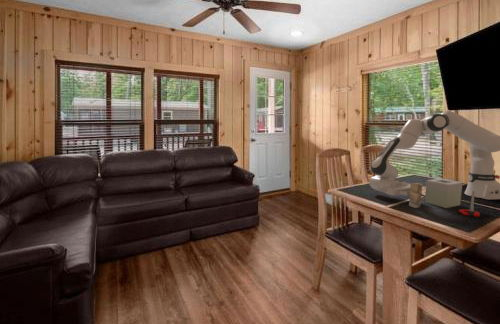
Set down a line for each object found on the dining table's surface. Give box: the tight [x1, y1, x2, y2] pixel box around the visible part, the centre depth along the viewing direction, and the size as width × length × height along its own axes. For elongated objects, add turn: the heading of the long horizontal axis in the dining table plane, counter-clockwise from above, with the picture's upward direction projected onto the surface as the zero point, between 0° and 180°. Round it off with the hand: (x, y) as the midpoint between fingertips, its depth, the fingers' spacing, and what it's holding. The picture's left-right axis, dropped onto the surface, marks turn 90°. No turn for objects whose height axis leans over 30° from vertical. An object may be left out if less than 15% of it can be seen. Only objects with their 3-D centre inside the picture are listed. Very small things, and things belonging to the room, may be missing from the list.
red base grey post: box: [458, 191, 481, 218], centre depth 142 cm, size 8×13×9 cm
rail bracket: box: [408, 182, 423, 209], centre depth 154 cm, size 4×4×13 cm
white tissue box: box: [424, 177, 463, 209], centre depth 158 cm, size 12×12×13 cm
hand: (413, 193), depth 155 cm, fingers open, 8 cm apart
